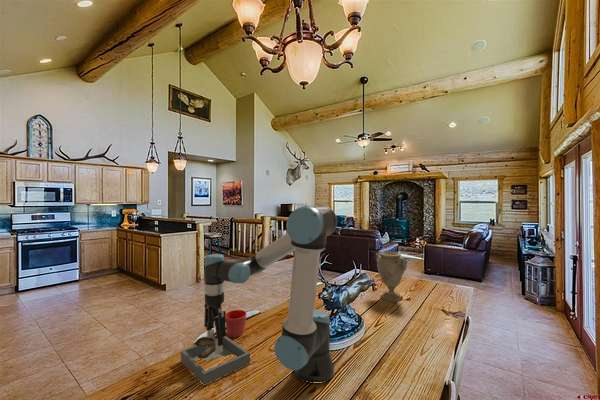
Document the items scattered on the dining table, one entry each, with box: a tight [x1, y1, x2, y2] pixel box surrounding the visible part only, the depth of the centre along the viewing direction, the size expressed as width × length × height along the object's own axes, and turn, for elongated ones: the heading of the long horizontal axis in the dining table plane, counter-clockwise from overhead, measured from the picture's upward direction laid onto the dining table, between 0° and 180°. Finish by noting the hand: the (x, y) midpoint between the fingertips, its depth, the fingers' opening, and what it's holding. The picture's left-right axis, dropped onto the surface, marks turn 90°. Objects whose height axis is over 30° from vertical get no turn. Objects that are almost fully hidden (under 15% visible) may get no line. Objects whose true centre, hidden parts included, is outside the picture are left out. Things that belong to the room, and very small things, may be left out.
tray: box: [180, 335, 251, 385], centre depth 115 cm, size 21×19×4 cm
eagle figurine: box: [194, 334, 216, 359], centre depth 113 cm, size 8×7×9 cm
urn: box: [375, 251, 408, 303], centre depth 187 cm, size 24×18×30 cm
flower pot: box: [225, 309, 247, 338], centre depth 140 cm, size 11×11×10 cm
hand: (214, 349), depth 115 cm, fingers closed on eagle figurine, 7 cm apart
